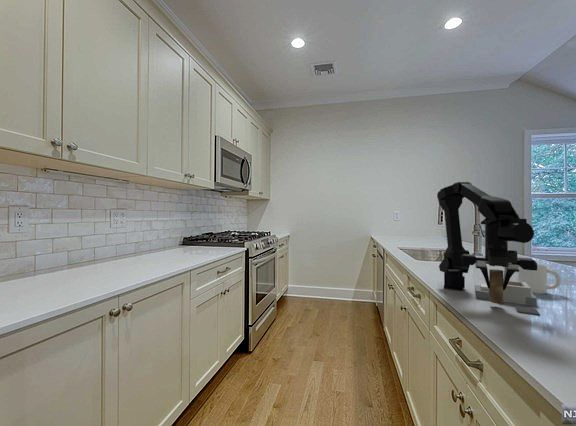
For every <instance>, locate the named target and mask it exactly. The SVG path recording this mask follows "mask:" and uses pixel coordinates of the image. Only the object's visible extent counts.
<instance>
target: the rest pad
mask: <svg viewBox="0 0 576 426" xmlns="http://www.w3.org/2000/svg"><path fill="white" fill-rule="evenodd" d="M514 308H515V310H516V312H517V313H520V314H527V315H533V316H534V315H535V316H539V317H540V316H541V313H540V312H539V311H538V309H536V308H532V307H523V306H518V305H517V306H516V305H515V306H514Z"/></svg>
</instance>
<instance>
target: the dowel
mask: <svg viewBox="0 0 576 426" xmlns="http://www.w3.org/2000/svg"><path fill="white" fill-rule="evenodd" d="M488 271H489V272H488V277H489V283H490V288H489V300H488V301H489V302H490V303H493V304H498V305H499V304H504V302H503V278H504V269H503V270H502V269H498V268H497V269H496V268H489V269H488Z"/></svg>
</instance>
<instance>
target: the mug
mask: <svg viewBox="0 0 576 426" xmlns="http://www.w3.org/2000/svg"><path fill="white" fill-rule="evenodd" d="M518 269H519V272H517V281H519V282H526V283H527V285H528V286H529V287H530V288H531V292H532V293H533V294H534V295H536V294H538V295H544V294H546V293H547V292H548V291H547V290H553V289H557V288H558V287H559V286H560V285H561V282H562V278H561V276H560V274H559V273H558V272H557V271H556V270H554V269H551V268H548V266H547V264H545V263H539V262H537V270H536V271H535V270H524V269H522V268H521V267H520V266H519V267H518ZM548 274H551V275H553V276H554V278H555V283H553V284H551V285H549V284H548Z"/></svg>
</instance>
